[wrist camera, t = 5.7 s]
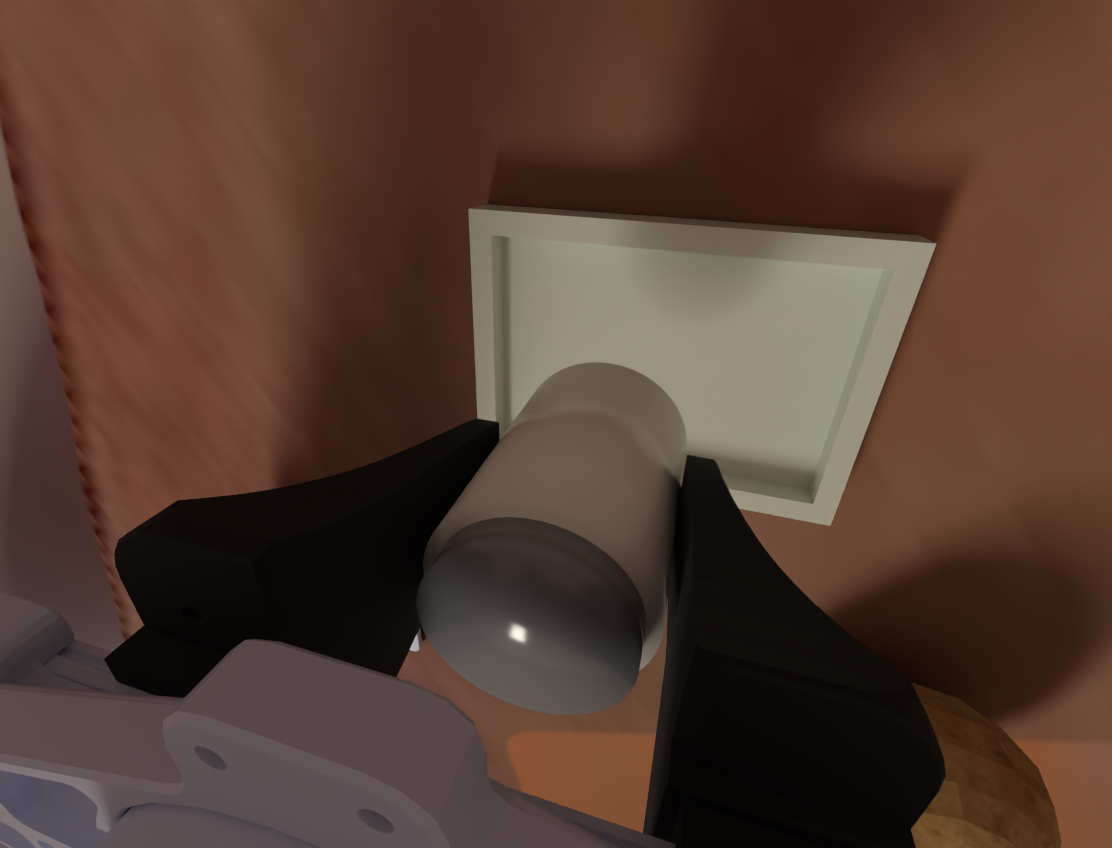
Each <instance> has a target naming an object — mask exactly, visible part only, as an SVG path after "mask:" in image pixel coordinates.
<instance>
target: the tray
mask: <svg viewBox="0 0 1112 848" xmlns="http://www.w3.org/2000/svg"><path fill="white" fill-rule="evenodd" d="M468 211H469V234H470V257H471V280H472V303H473V326H474V349H475V372H476V395H477V418H478V419H483V420H489V421H495V422H499V439H501V438H502V437H503V435H504V434H505V432H506V431H507V430H508V428H509V427H510V426H511V424H512V423H513V421H514V420H515V419H516V417H517V416H518V414H519V413H520V412H521V410H522V409H523V407H524V406H525V405H526V403H527V402H528V401H529V399H530V398H531V396H532V395H533V394H534V392H535V391H536V390H537V388H538V387H539V386H540V385H541V384H542V383H543V382H544V381H545V380H546V379H547V378H548V377H550V376H551V375H553V374H554V373H556V372H558V371H560V370H562V369H564V368H566V367H570V366H573V365H576V364H582V363H590V362H602V363H611V364H616V365H620V366H624V367H627V368H630V369H632V370H635V371H637V372H639V373H641V374H643V375H645V376H646V377H648V378H649V379H651V380H652V381H654V382H655V383H656V384H657V385H658V386H660V387H661V388H662V389H663V390H664V391H665V392H666V393H667V394H668V395H669V397H670V398H671V399H672V401H673V402H674V403H675V405H676V406H677V408H678V410H679V412H680V414H681V416H682V419H683V422H684V425H685V430H686V437H687V447H686V455H685V463H686V458H687V455H691V456H697V457H703V458H708V459H714V460H715V461H716V463H717V464H718V466H719V469H720V472H721V474H722V477H723V479H724V481H725V483H726V485H727V487H728V489H729V492H730V494H731V495H732V497H733V499H734V501H735V503H736V505H737V506H738V508H740V509H745V510H750V511H755V512H760V513H766V514H771V515H776V516H781V517H786V518H792V519H797V520H802V521H807V522H812V523H818V524H823V525H828V526H831V523H832V520H833V518H834V515H835V513H836V510H837V507H838V505H839V502H840V499H841V497H842V494H843V491H844V489H845V486H846V483H847V481H848V478H849V475H850V473H851V470H852V467H853V465H854V462H855V459H856V457H857V454H858V451H859V449H860V446H861V443H862V441H863V438H864V435H865V433H866V430H867V427H868V425H869V422H870V419H871V417H872V414H873V411H874V409H875V406H876V403H877V401H878V398H879V395H880V393H881V390H882V387H883V385H884V382H885V379H886V377H887V374H888V371H889V369H890V366H891V363H892V361H893V358H894V355H895V353H896V350H897V347H898V345H899V342H900V339H901V337H902V334H903V331H904V329H905V326H906V323H907V321H908V318H909V315H910V313H911V310H912V308H913V305H914V302H915V300H916V297H917V294H918V292H919V289H920V286H921V284H922V281H923V278H924V276H925V273H926V270H927V268H928V265H929V262H930V260H931V257H932V254H933V252H934V249H935V246H936V243H934V242H932V241H930V240H928V239H925V238H923V237H921V236H919V235H910V234H896V233H882V232H868V231H855V230H841V229H827V228H813V227H799V226H785V225H771V224H757V223H744V222H730V221H716V220H702V219H688V218H674V217H660V216H646V215H633V214H619V213H605V212H591V211H577V210H563V209H549V208H535V207H522V206H508V205H494V204H485V205H481V206H477V207H473V208H468ZM685 463H684V469H685ZM683 474H684V471H683Z"/></svg>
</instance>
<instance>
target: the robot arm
mask: <svg viewBox="0 0 1112 848" xmlns="http://www.w3.org/2000/svg"><path fill="white" fill-rule="evenodd" d="M499 441H500V439H499V422H495V421H489V420H483V419H474V420H471V421H469V422H466V423H464V424H462V425H459V426H457V427H455V428H453V429H451V430H448V431H446V432H444V433H442V434H440V435H438V436H436V437H433V438H431V439H429V440H427V441H425V442H423V443H420V444H418V445H416V446H414V447H411V448H409V449H407V450H404V451H402V452H399V453H397V454H394V455H392V456H390V457H387V458H385V459H382V460H380V461H377V462H374V463H372V464H369V465H366V466H363V467H360V468H357V469H354V470H351V471H347V472H344V473H341V474H337V475H334V476H330V477H326V478H322V479H318V480H313V481H309V482H305V483H301V484H297V485H292V486H287V487H282V488H277V489H271V490H265V491H259V492H252V493H246V494H238V495H230V496H220V497H210V498H200V499H189V500H178V501H176V502H174V503H173V504H171V505H170V506H168V507H167V508H165V509H164V510H162V511H161V512H159V513H158V514H156V515H155V516H153V517H152V518H150V519H149V520H147V521H145V522H144V523H142V524H141V525H139V526H138V527H136V528H135V529H133V530H132V531H130V532H128V533H127V534H126V535H124V536H123V537H122V538H120V539H119V540H118V543H117V546H116V549H115V565H116V568H117V571H118V573H119V576H120V579H121V581H122V583H123V585H124V586H125V588H126V590H127V592H128V594H129V596H130V598H131V600H132V602H133V604H134V606H135V608H136V610H137V612H138V614H139V616H140V618H141V620H142V622H143V624H144V626H143V627H142V628H141V629H139V630H138V631H137V632H136V633H135V634H133V635H132V636H131V637H130V638H129V639H127V640H126V641H125V642H124V643H122V644H121V645H120V646H119V647H118V648H116V649H115V650H114V651H113V652H110V651H107V650H105V649H102V648H99V647H96V646H93V645H90V644H87V643H84V642H81V641H78V640H75V639H74V633H73V631H72V629H71V627H70V625H69V624H68V622H67V621H66V620H65V618H64V617H63V616H62V615H61V614H60V613H58V612H57V611H56V610H55V609H53V608H51V607H49V606H46V605H44V604H41V603H37V602H35V601H31V600H28V599H25V598H22V597H19V596H16V595H13V594H5V595H3V596H1V597H0V848H916V846H915V843H914V839H913V836H912V832H911V829H912V827H913V826H914V825H915V823H916V822H917V821H918V819H919V818H920V817H921V815H922V814H923V813H924V811H925V810H926V809H927V807H928V806H929V805H930V803H931V802H932V801H933V799H934V798H935V797H936V795H937V794H938V792H939V791H940V788H941V786H942V784H943V781H944V779H945V777H946V773H945V763H944V757H943V754H942V751H941V748H940V746H939V743H938V740H937V737H936V734H935V732H934V729H933V727H932V724H931V722H930V720H929V717H928V715H927V713H926V710H925V708H924V706H923V704H922V703H921V701H920V699H919V697H918V695H917V693H916V691H915V689H914V686H913V684H912V682H911V680H910V679H909V678H907V677H906V676H905V675H903V674H902V673H901V672H899V671H898V670H896V669H895V668H894V667H892V666H891V665H890V664H888V663H887V662H886V661H884V660H883V659H881V658H880V657H879V656H877V655H876V654H875V653H873V652H872V651H870V650H869V649H868V648H866V647H865V646H864V645H862V644H861V643H860V642H858V641H857V640H856V639H855V638H853V637H852V636H851V635H850V634H849V633H847V632H846V631H845V630H844V629H843V628H842V627H840V626H839V625H838V624H837V623H836V622H834V621H833V620H832V619H831V618H830V617H829V616H827V615H826V614H825V613H824V612H823V611H822V610H821V609H820V608H819V607H818V606H816V605H815V604H814V603H813V602H812V601H811V600H810V599H809V598H808V597H807V596H806V595H805V594H804V593H803V592H802V591H801V590H800V589H799V588H798V587H797V586H796V585H795V584H794V583H793V582H792V581H791V580H790V578H789V577H788V576H787V575H786V574H785V573H784V572H783V571H782V570H781V568H780V567H779V566H778V565H777V564H776V562H775V561H774V560H773V559H772V558H771V556H770V555H769V554H768V552H767V551H766V550H765V548H764V547H763V546H762V544H761V543H760V542H759V540H758V539H757V537H756V536H755V534H754V533H753V531H752V530H751V528H750V527H749V525H748V523H747V522H746V520H745V519H744V517H743V515H742V513H741V512H740V510H739V508H738V506H737V505H736V503H735V501H734V499H733V497H732V495H731V494H730V492H729V489H728V487H727V485H726V483H725V481H724V479H723V477H722V474H721V472H720V469H719V466H718V464H717V463H716V461H715V460H714V459H708V458H703V457H697V456H691V455H687V458H686V463H685V469H684V474H683V479H682V485H681V492H680V499H679V507H678V517H677V526H676V534H675V542H674V550H673V558H672V566H671V574H670V582H669V590H668V616H667V647H666V661H665V669H664V677H663V685H662V693H661V701H660V709H659V717H658V724H657V732H656V740H655V747H654V755H653V763H652V770H651V778H650V785H649V793H648V800H647V808H646V815H645V822H644V829H643V833H641V832H638V831H635V830H632V829H629V828H626V827H623V826H621V825H618V824H615V823H611V822H609V821H606V820H603V819H600V818H597V817H594V816H591V815H588V814H585V813H582V812H579V811H577V810H573V809H571V808H568V807H565V806H562V805H559V804H556V803H553V802H550V801H547V800H544V799H541V798H538V797H536V796H533V795H530V794H527V793H524V792H521V791H518V790H515V789H512V788H509V787H507V786H505V785H503V784H501V783H500V782H498V781H496V780H494V779H492V778H490V777H488V773H487V754H486V750H485V748H484V746H483V743H482V741H481V739H480V736H479V734H478V732H477V729H476V727H475V725H474V722H473V721H472V720H471V719H470V718H469V717H468V716H467V715H466V714H465V713H464V712H463V711H461V710H460V709H459V708H458V707H457V706H456V705H455V704H454V703H453V702H452V701H451V700H449V699H448V698H446V697H444V696H442V695H440V694H437V693H435V692H433V691H431V690H429V689H427V688H425V687H423V686H421V685H419V684H416V683H413V682H410V681H406V680H403V679H400V678H397V675H398V673H399V670H400V668H401V666H402V664H403V662H404V660H405V658H406V656H407V654H408V652H409V650H411V651H419V650H420V648H421V646H422V637H421V630H420V627H421V624H420V621H419V618H418V613H417V604H416V598H417V591H418V588H419V585H420V583H421V581H422V579H423V577H424V573H423V559H424V553H425V549H426V546H427V543H428V541H429V539H430V538H431V536H432V534H433V532H434V531H435V530H436V528H437V527H438V525H439V524H440V523H441V521H442V520H443V519H444V517H445V516H446V514H447V513H448V512H449V510H450V509H451V507H452V506H453V505H454V503H455V502H456V500H457V499H458V498H459V496H460V495H461V494H462V492H463V491H464V489H465V488H466V487H467V485H468V484H469V482H470V481H471V480H472V478H473V477H474V475H475V474H476V473H477V471H478V470H479V469H480V467H481V466H482V464H483V463H484V462H485V460H486V459H487V457H488V456H489V455H490V453H491V452H492V450H493V449H494V448H495V446H496V445H497V444H498V442H499Z"/></svg>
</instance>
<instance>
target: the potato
mask: <svg viewBox="0 0 1112 848" xmlns="http://www.w3.org/2000/svg"><path fill="white" fill-rule="evenodd" d="M912 684H913V686H914V689H915V691H916V693H917V695H918V697H919V699H920V701H921V703H922V704H923V706H924V708H925V710H926V713H927V715H928V717H929V720H930V722H931V724H932V727H933V729H934V732H935V734H936V737H937V740H938V743H939V746H940V748H941V751H942V754H943V757H944V763H945V773H946V777H945V779H944V781H943V784H942V786H941V788H940V791H939V792H938V794H937V795H936V797H935V798H934V799H933V801H932V802H931V803H930V805H929V806H928V807H927V809H926V810H925V811H924V813H923V814H922V815H921V817H920V818H919V819H918V821H917V822H916V823H915V825H914V826H913V827H912V829H911V832H912V836H913V839H914V843H915V846H916V848H1060V846H1061V837H1060V833H1059V828H1058V823H1057V819H1056V813H1055V809H1054V806H1053V804H1052V801H1051V799H1050V796H1049V794H1048V791H1047V789H1046V786H1045V784H1044V781H1043V779H1042V777H1041V774H1040V772H1039V769H1038V768H1037V766H1036V765H1035V764H1034V763H1033V762H1032V761H1031V760H1030V759H1029V758H1028V757H1027V755H1026V754H1025V753H1024V752H1023V751H1022V750H1021V749H1020V748H1019V747H1018V746H1017V745H1016V744H1015V742H1014V741H1013V740H1012V739H1011V738H1010V737H1009V736H1008V735H1007V734H1006V733H1005V732H1004V730H1003V729H1002V728H1000V727H999V726H998V725H996V724H995V723H993V722H992V721H990V720H989V719H987V718H986V717H984V716H983V715H982V714H980V713H979V712H977V711H976V710H974V709H973V708H971V707H970V706H968V705H967V704H966V703H964V702H963V701H961V700H960V699H958V698H956V697H953V696H950V695H947V694H944V693H941V692H938V691H935V690H932V689H929V688H926V687H923V686H921V685H918V684H915V683H912Z"/></svg>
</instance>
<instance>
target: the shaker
mask: <svg viewBox="0 0 1112 848" xmlns="http://www.w3.org/2000/svg"><path fill="white" fill-rule="evenodd" d="M686 447H687V437H686V430H685V425H684V422H683V419H682V416H681V414H680V412H679V410H678V408H677V406H676V405H675V403H674V402H673V401H672V399H671V398H670V397H669V395H668V394H667V393H666V392H665V391H664V390H663V389H662V388H661V387H660V386H658V385H657V384H656V383H655V382H654V381H652V380H651V379H649V378H648V377H646V376H645V375H643V374H641V373H639V372H637V371H635V370H632V369H630V368H627V367H624V366H620V365H616V364H611V363H602V362H590V363H582V364H576V365H573V366H570V367H566V368H564V369H562V370H560V371H558V372H556V373H554V374H553V375H551V376H550V377H548V378H547V379H546V380H545V381H544V382H543V383H542V384H541V385H540V386H539V387H538V388H537V390H536V391H535V392H534V394H533V395H532V396H531V398H530V399H529V401H528V402H527V403H526V405H525V406H524V407H523V409H522V410H521V412H520V413H519V414H518V416H517V417H516V419H515V420H514V421H513V423H512V424H511V426H510V427H509V428H508V430H507V431H506V432H505V434H504V435H503V437H502V438H501V439H500V441H499V442H498V444H497V445H496V446H495V448H494V449H493V450H492V452H491V453H490V455H489V456H488V457H487V459H486V460H485V462H484V463H483V464H482V466H481V467H480V469H479V470H478V471H477V473H476V474H475V475H474V477H473V478H472V480H471V481H470V482H469V484H468V485H467V487H466V488H465V489H464V491H463V492H462V494H461V495H460V496H459V498H458V499H457V500H456V502H455V503H454V505H453V506H452V507H451V509H450V510H449V512H448V513H447V514H446V516H445V517H444V519H443V520H442V521H441V523H440V524H439V525H438V527H437V528H436V530H435V531H434V532H433V534H432V536H431V538H430V539H429V541H428V543H427V546H426V549H425V553H424V559H423V573H424V577H423V579H422V581H421V583H420V585H419V588H418V591H417V598H416V604H417V613H418V618H419V621H420V624H421V626H422V629H423V631H424V633H425V635H426V637H427V639H428V640H429V642H430V643H431V645H432V646H433V648H434V649H435V650H436V651H437V653H438V654H439V655H440V656H441V658H442V659H443V660H444V661H445V662H446V663H447V664H448V665H449V666H450V667H451V668H453V669H454V670H455V671H456V672H457V673H458V674H460V675H461V676H462V677H463V678H465V679H466V680H468V681H469V682H470V683H472V684H473V685H475V686H477V687H478V688H480V689H481V690H483V691H485V692H487V693H489V694H491V695H492V696H494V697H496V698H499V699H501V700H503V701H506V702H508V703H511V704H513V705H516V706H519V707H522V708H526V709H529V710H533V711H538V712H543V713H549V714H558V715H579V714H587V713H593V712H597V711H600V710H603V709H606V708H608V707H610V706H612V705H615V704H616V703H618V702H619V701H620V700H622V699H623V698H624V697H625V696H626V695H627V694H628V693H629V692H630V691H631V689H632V688H633V686H634V684H635V683H636V680H637V677H638V674H639V670H640V669H642V668H643V667H644V666H646V665H647V663H648V662H649V661H650V660H651V659H652V658H653V657H654V655H655V653H656V652H657V650H658V648H659V646H660V643H661V640H662V636H663V629H664V622H665V614H666V606H667V598H668V590H669V582H670V574H671V566H672V558H673V550H674V542H675V534H676V526H677V517H678V507H679V499H680V492H681V485H682V479H683V471H684V463H685V455H686Z"/></svg>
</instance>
